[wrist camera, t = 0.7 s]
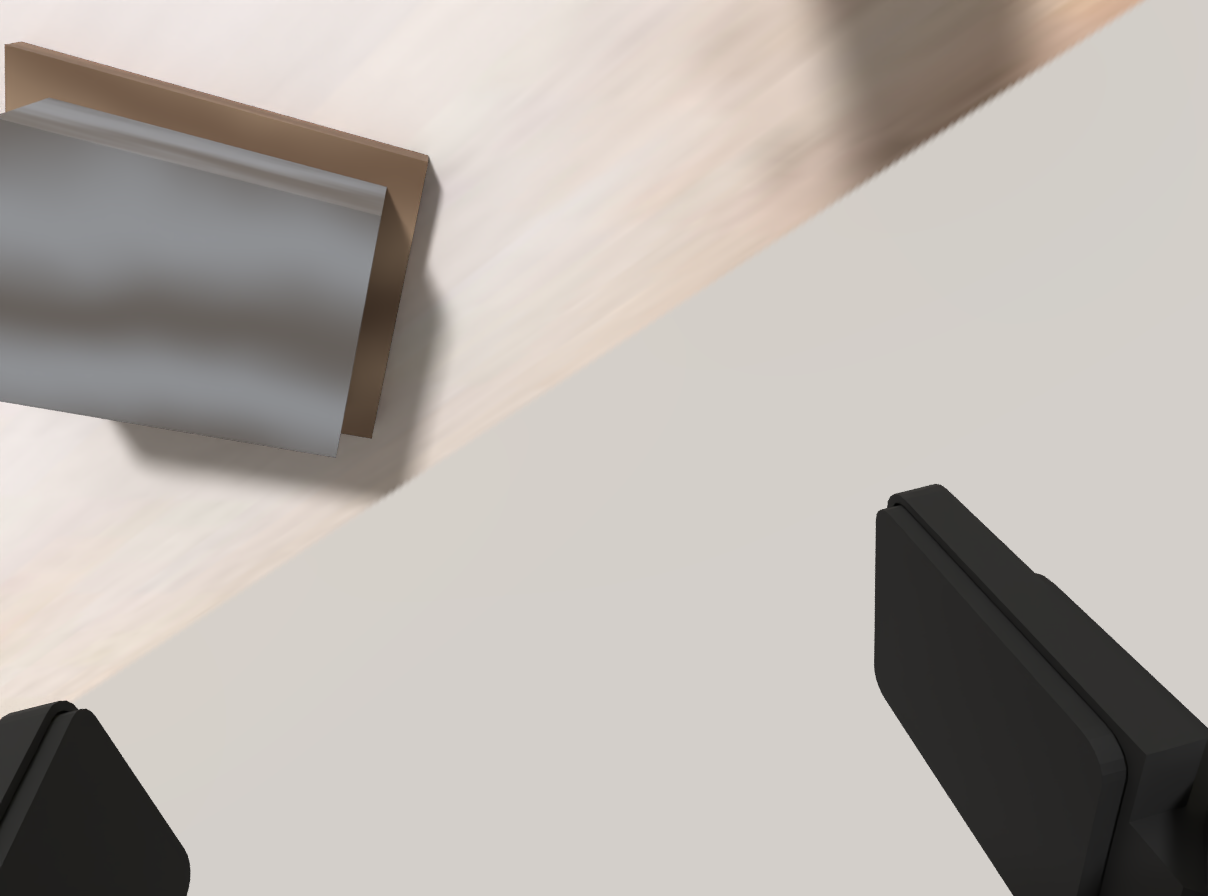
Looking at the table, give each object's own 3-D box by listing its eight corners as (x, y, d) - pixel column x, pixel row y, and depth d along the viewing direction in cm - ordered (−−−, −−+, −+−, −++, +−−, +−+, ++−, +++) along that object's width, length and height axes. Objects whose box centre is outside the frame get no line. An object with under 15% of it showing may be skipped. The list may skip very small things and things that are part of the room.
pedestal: (21, 41, 33) (-62, 56, 27) (428, 155, 38) (427, 188, 32) (22, 361, 39) (-46, 426, 33) (373, 424, 44) (364, 491, 38)
